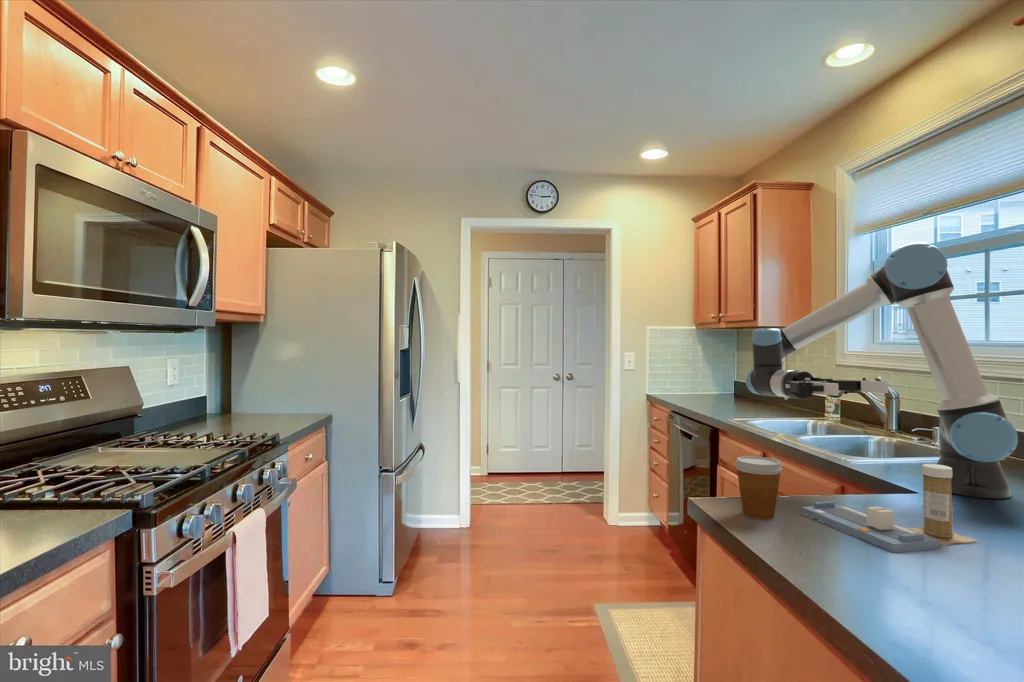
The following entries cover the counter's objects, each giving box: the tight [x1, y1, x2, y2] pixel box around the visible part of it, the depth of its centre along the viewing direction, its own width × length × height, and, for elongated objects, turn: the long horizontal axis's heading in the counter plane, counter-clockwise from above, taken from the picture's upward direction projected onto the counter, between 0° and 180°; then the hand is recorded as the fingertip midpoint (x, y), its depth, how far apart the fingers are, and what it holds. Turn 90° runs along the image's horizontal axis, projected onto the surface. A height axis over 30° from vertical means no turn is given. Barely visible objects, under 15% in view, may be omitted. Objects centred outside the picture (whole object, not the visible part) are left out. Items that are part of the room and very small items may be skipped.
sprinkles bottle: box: [921, 463, 954, 538], centre depth 99 cm, size 5×5×14 cm
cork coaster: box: [908, 526, 978, 546], centre depth 99 cm, size 8×8×1 cm
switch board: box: [800, 501, 940, 553], centre depth 103 cm, size 10×22×2 cm, turn 11°
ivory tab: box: [866, 506, 895, 530], centre depth 99 cm, size 3×3×4 cm
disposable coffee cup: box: [734, 456, 783, 520], centre depth 112 cm, size 10×10×12 cm
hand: (862, 388), depth 116 cm, fingers open, 13 cm apart
